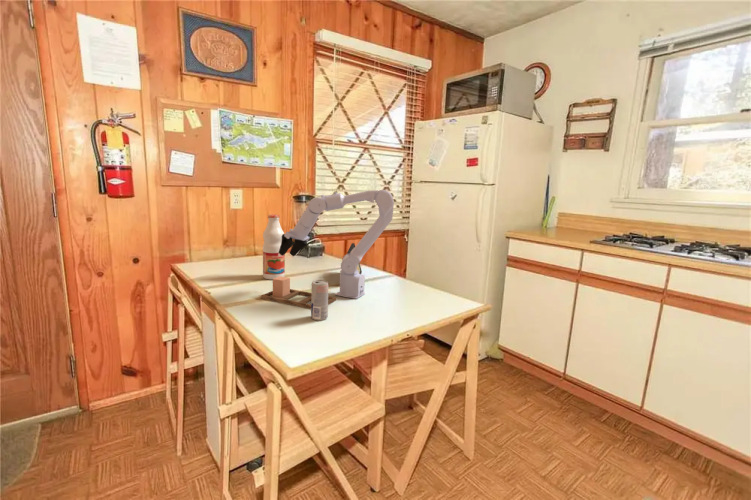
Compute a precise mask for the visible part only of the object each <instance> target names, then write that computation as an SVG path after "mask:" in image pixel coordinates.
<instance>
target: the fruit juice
mask: <svg viewBox="0 0 751 500" xmlns="http://www.w3.org/2000/svg"><path fill="white" fill-rule="evenodd" d="M267 219H268V222H267V225H266V228H265V229H264V231H263V233H262V238H263V244H262V277H263V278H264V279H265V280H271V281H273V279H274V278H277V277H279V276H282V277H286V276H285V275H286V274H285V273H286V271H285V270H286V267H285V266H286V265H285V264H286V263H285V261H286V258H285V255H286V253H285V254H284V255H283V256H282V255H281V254H280V253H279V250H280V246H281V242H282V235H283V234H285V232H284V230H283V228H282V226H281V223H280V214H268V215H267Z"/></svg>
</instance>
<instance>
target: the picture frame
mask: <svg viewBox="0 0 751 500" xmlns="http://www.w3.org/2000/svg"><path fill="white" fill-rule="evenodd" d="M355 247H356V245H355V243H354V242H352V243H351V245H350V246H349V248H348V250H347V252H346V254H349V253H350V252H351V251H352V250H353V249H354V248H355ZM357 270H358V273H359V274H361V275H362V272H363V271H362V267H361V264H360V262H359V264H358V266H357Z"/></svg>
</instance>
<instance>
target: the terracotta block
mask: <svg viewBox="0 0 751 500" xmlns="http://www.w3.org/2000/svg"><path fill="white" fill-rule="evenodd" d="M290 289H291V278H290V277H287V276H284V277H282V276H279V277H277V278H274V279H273V280H272V291H273V295H272V297H277V298H281V297H283V296H286V295H288V294H290Z"/></svg>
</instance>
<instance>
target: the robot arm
mask: <svg viewBox="0 0 751 500" xmlns="http://www.w3.org/2000/svg"><path fill="white" fill-rule="evenodd" d="M366 201H367V202H369V203H376V205H377V207H378V214H379V216H378V217H377V219H376V220H375V221H374V223H373V224H372V225H371V226H370V227H369V228H368V230H367V231H366V233H365V234H364V235H363V236H362V237H361V239H360V240H359V242H357V244H356V245H355V248H354V249H353V250H352V251H351V252H350V253H349V254H347V253H346V254H345V255H344V256H343V257H342V259H341V260H342V261H341V263H340V269H341V270H340V271H339V291H338V292H336V293H334V295H335V296H337V297H345V298H350V299H355V300H358V299H359V298H361V297H362V296H364V295H365V294H366V293H365V284H366V283H365V282H366V281H365V275H364V274H362V273H361V274H359V273H358V270H357V266H358V264H359V263H360V262H361V261H362V259H363V258H364V256H365V254H367V252H368V251H369V250H370V249H371V247H372V246H373V244H374V243H375V242H376V241H377V240H378V238H379V237H380V236H381V235H382V233H383V232H384V231H385V230H386V228H387V227H388V226H389V225H390V223H391V222H392V221H393V215H394V206H395V202H394V197H393V195H392V193H391V192H390V191H388V190H386V189H379V190H377V189H375V190H374V189H373V190H364V191H360V192H355V193H350V194H347V195H343V194H342V193H341V192H336V191H335V192H333V193H332V194H327V195H324V194H322V195H320V197H318V196H317V197H314V198H312V199H310V200H309V202H308V206H307V207H306V209H305V211H303V213H302V214H301V216H300V218H299V220H298V221H297V222H296V224H295V226H294V228H293V229H292V228H290V229H289V231H286V232H284V234H283V235H282V242H281V246H280V250H279V253H280V254H281V255H282V256H283V255H284V254H285V255H286V253H287V252H288V251H289V254H290V255H291V256H292V257H295V256H296V255H297V254H298V253H299V252H300V251H301V250H303V249H304V248H306V247H308V245H309V243H308V241H310V236H309V233H310V232H311V230H312V228H313V227H314V225H315V224H316V222H317V221H318V218H319V216H320V215H321V213H322V212H324V211H326V212H329V211H334V210H339V209H344V207H345V206H346V205H347V204H352V203H353V204H354V203H358V202H359V203H360V202H366ZM293 239H294V240H293ZM290 248H291V250H289V249H290Z"/></svg>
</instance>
